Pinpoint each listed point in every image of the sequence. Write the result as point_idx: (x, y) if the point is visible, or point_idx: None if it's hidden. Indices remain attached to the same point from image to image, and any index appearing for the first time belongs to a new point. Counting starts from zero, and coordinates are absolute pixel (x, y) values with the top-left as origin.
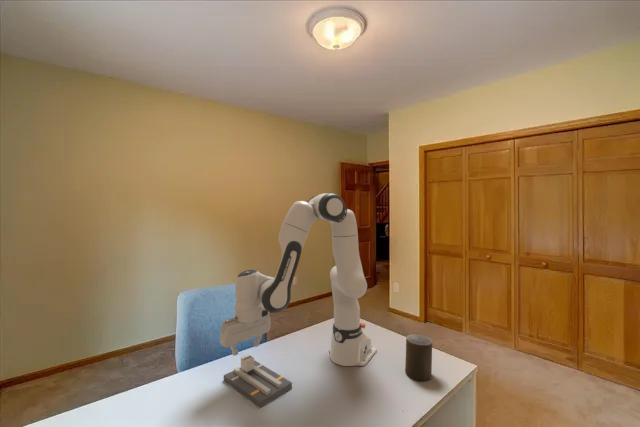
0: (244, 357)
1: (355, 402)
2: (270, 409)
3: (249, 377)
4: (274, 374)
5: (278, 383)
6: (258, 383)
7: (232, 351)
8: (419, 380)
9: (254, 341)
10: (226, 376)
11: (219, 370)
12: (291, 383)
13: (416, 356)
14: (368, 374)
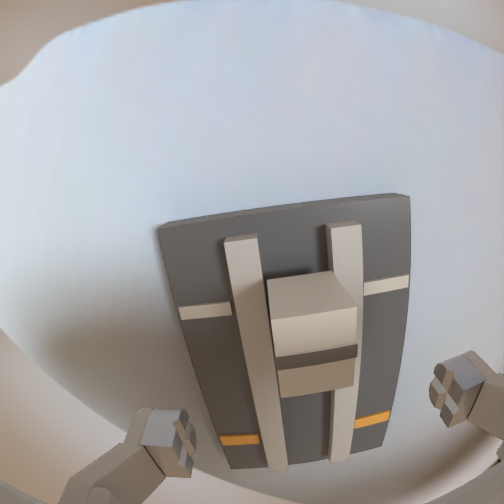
0: (300, 337)
1: (408, 489)
2: None
3: (264, 383)
4: (385, 387)
5: (334, 459)
6: (273, 434)
7: (133, 436)
8: (498, 462)
9: (464, 397)
10: (168, 252)
11: (189, 95)
12: (379, 444)
13: None
14: None
